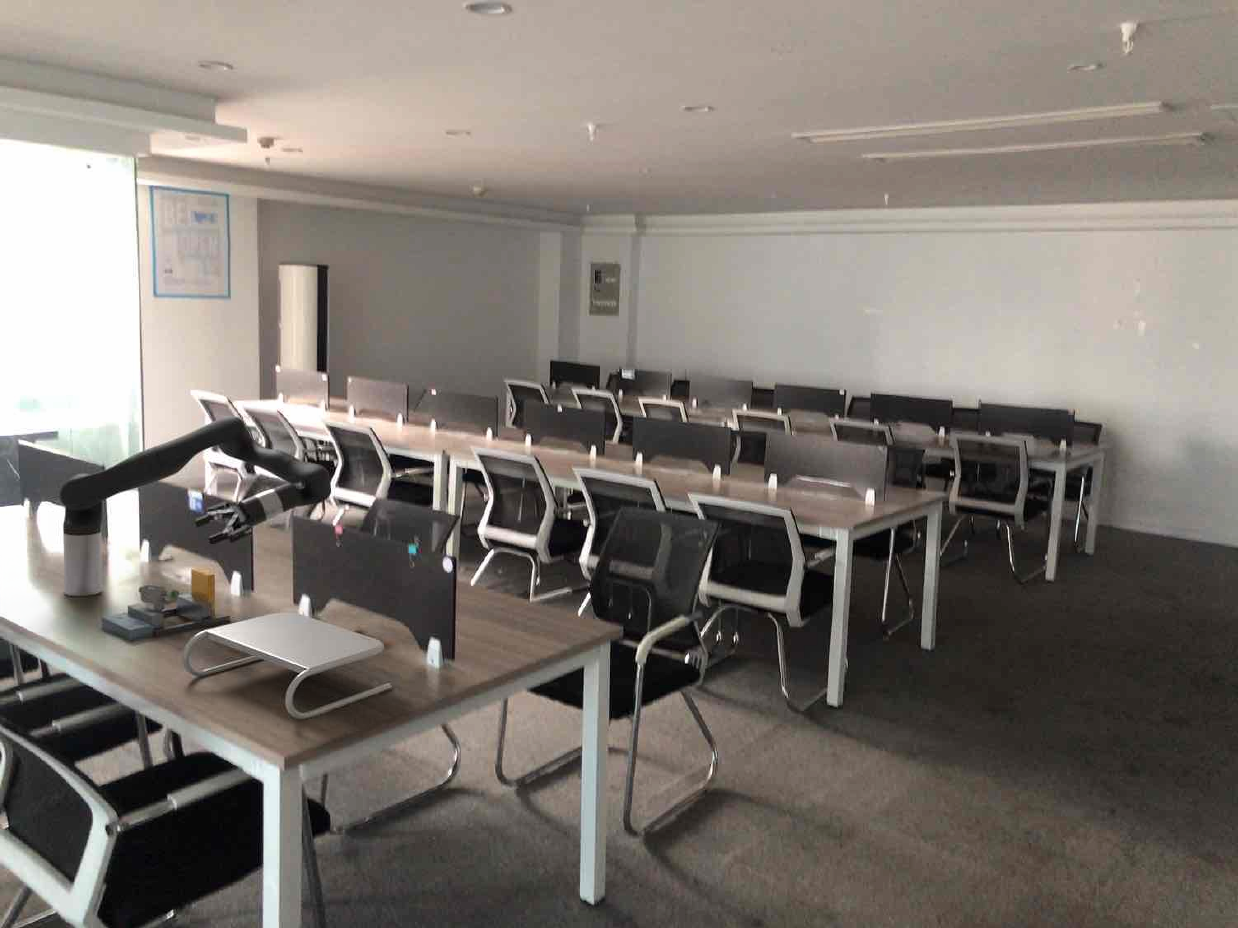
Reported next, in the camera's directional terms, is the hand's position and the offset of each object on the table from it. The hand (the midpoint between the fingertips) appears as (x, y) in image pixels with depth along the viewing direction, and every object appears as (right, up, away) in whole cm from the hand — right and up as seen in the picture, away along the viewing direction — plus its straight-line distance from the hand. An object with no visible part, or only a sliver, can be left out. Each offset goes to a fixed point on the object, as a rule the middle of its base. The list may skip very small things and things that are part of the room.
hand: (201, 532), depth 257 cm
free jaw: (-3, -23, +5) cm, 23 cm away
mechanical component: (-10, -24, -3) cm, 26 cm away
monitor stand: (+35, -32, -37) cm, 60 cm away
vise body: (-8, -23, -2) cm, 25 cm away
